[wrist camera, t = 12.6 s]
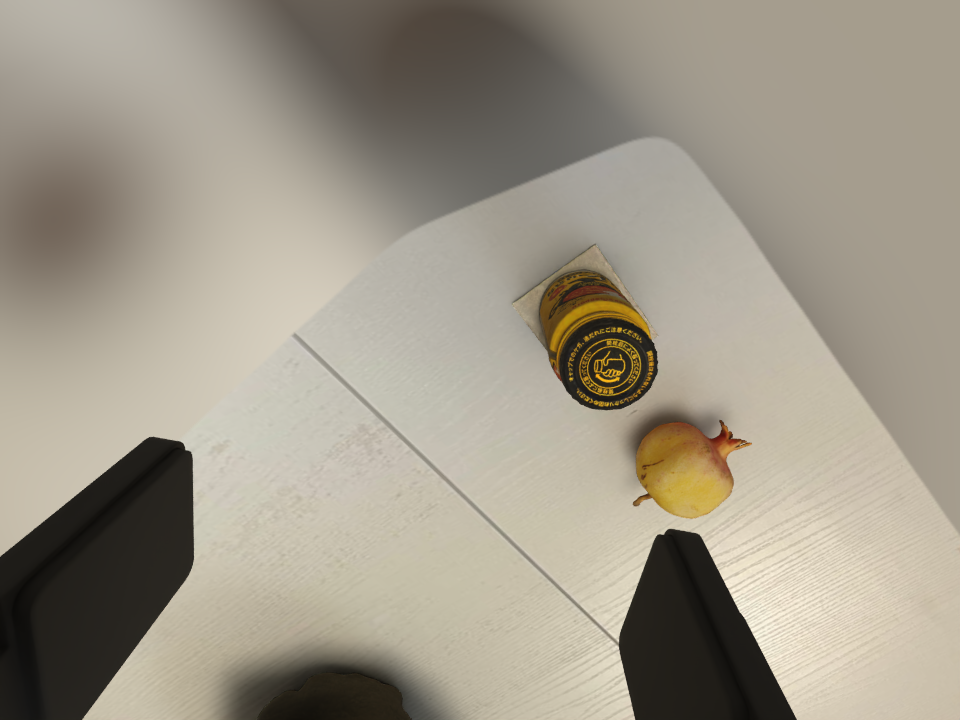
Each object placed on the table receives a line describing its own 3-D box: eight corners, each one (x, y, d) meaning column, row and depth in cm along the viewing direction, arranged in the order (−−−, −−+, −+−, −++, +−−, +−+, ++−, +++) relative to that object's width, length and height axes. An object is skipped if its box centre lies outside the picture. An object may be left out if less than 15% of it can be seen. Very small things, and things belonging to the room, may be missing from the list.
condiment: (595, 243, 38) (632, 281, 27) (657, 334, 41) (716, 405, 29) (511, 303, 40) (514, 362, 29) (575, 388, 42) (601, 473, 31)
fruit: (671, 562, 41) (790, 489, 38) (620, 521, 38) (745, 438, 35) (638, 494, 47) (739, 426, 44) (592, 454, 44) (697, 378, 41)
